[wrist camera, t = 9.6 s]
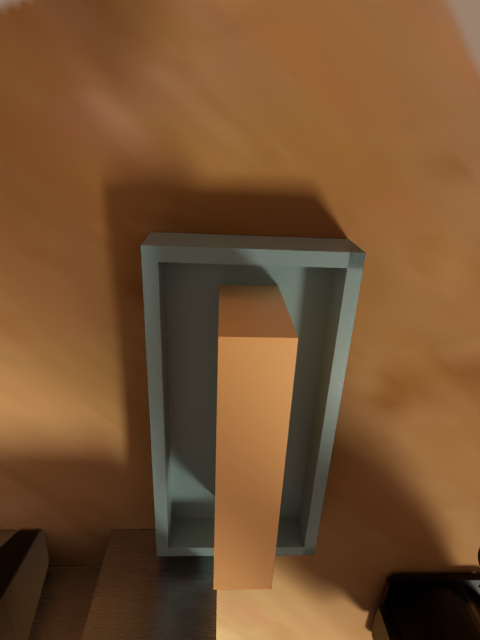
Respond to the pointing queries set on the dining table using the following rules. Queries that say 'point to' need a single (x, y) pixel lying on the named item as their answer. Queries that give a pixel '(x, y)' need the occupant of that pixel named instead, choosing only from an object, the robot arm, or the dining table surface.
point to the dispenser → (128, 595)
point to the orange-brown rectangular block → (251, 432)
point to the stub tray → (202, 369)
